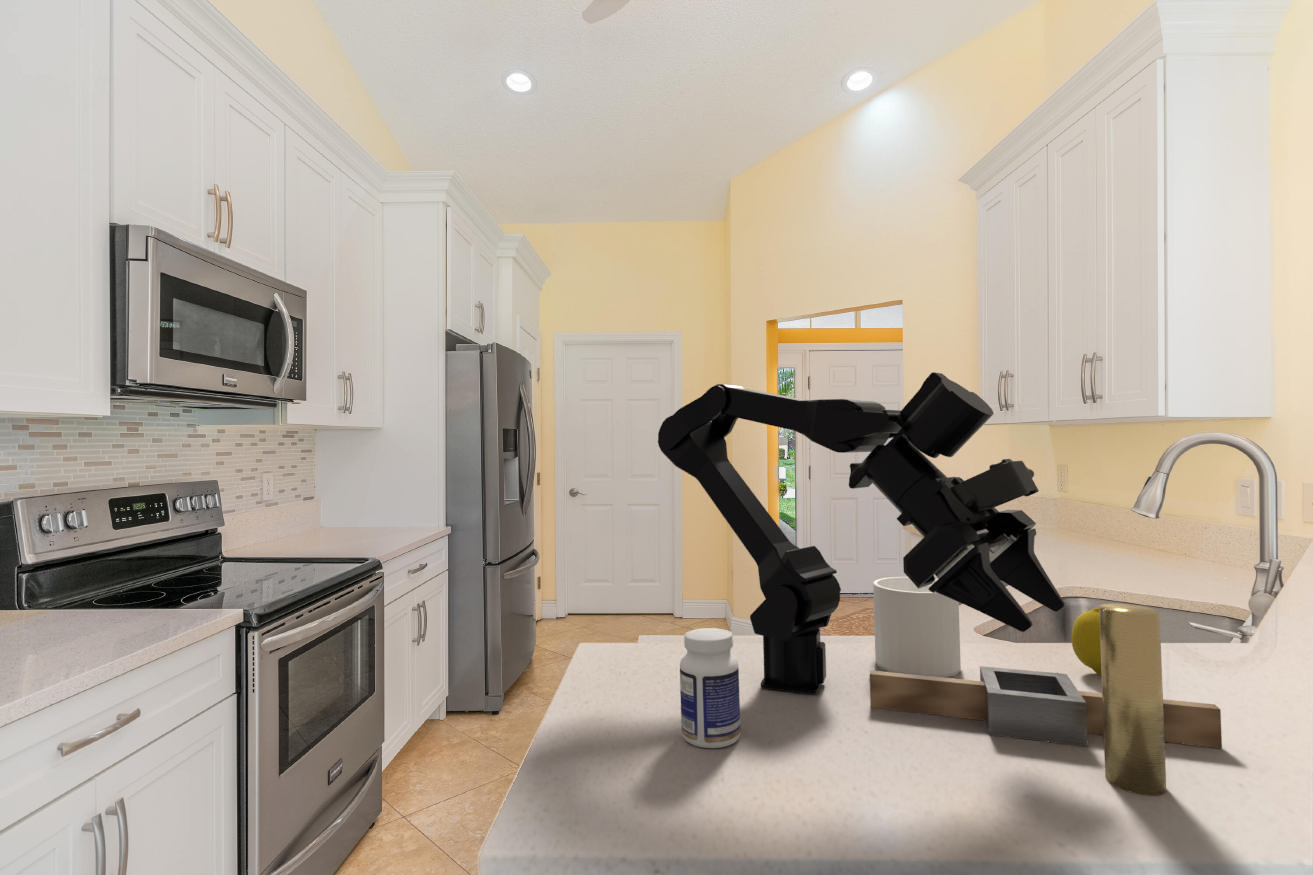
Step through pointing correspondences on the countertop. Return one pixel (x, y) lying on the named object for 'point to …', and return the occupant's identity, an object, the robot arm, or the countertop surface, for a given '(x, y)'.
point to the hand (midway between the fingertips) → (1045, 618)
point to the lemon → (1088, 639)
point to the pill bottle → (709, 689)
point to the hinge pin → (1132, 698)
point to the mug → (915, 629)
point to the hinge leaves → (969, 702)
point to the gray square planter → (1034, 706)
